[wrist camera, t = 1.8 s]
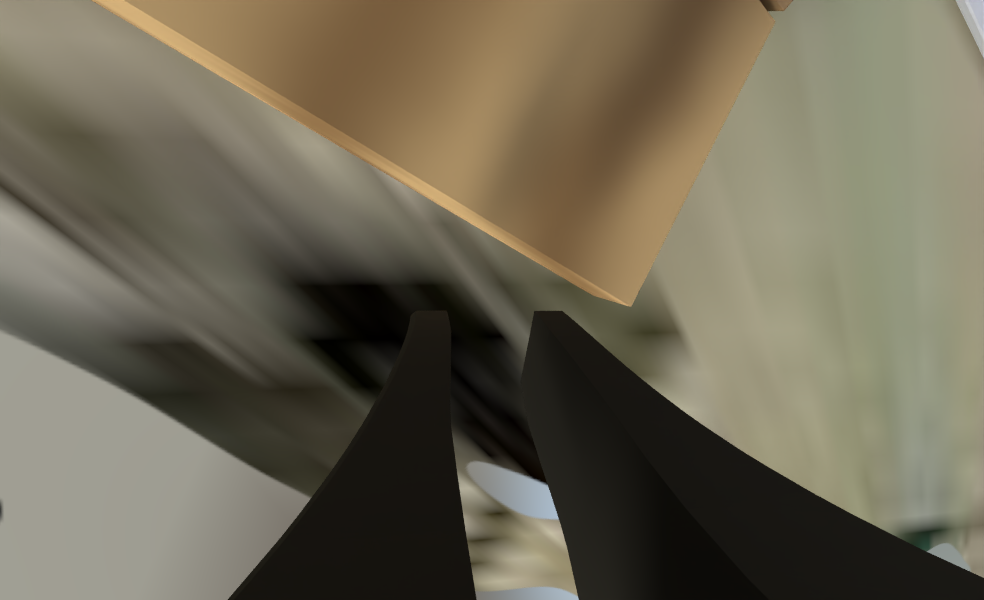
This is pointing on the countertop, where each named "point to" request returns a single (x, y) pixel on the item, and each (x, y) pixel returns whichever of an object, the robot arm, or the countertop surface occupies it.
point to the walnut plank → (775, 4)
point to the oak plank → (500, 104)
